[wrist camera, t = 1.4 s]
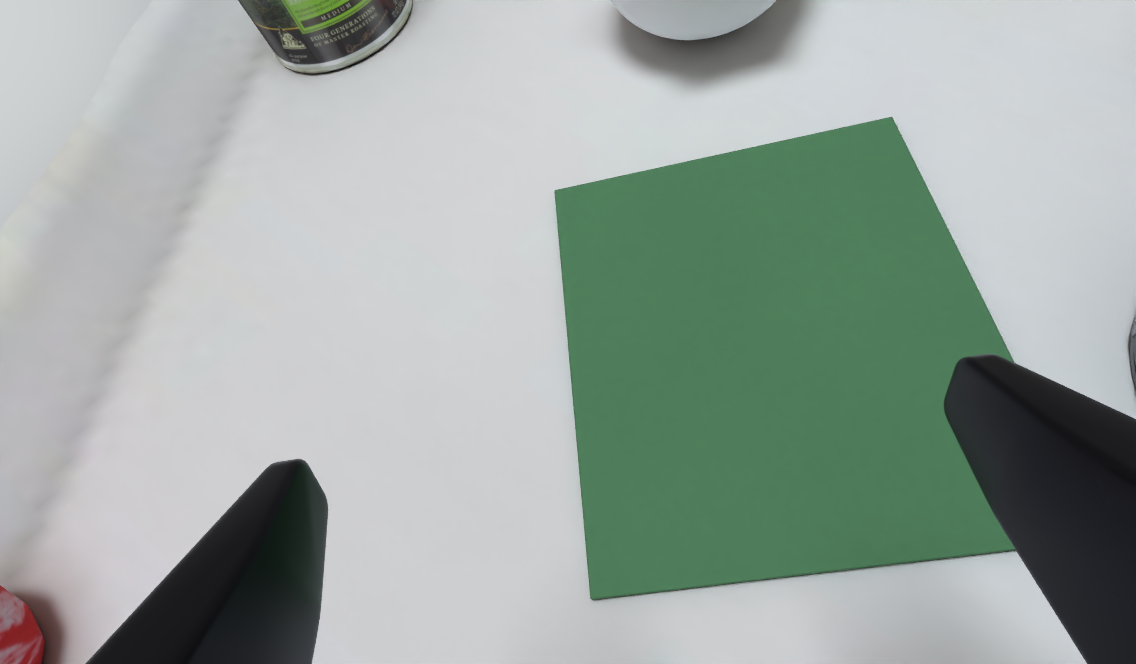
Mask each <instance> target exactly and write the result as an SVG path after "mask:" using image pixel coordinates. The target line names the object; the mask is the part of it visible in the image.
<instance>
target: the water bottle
mask: <svg viewBox="0 0 1136 664" xmlns="http://www.w3.org/2000/svg"><path fill="white" fill-rule="evenodd" d="M44 644H45V640H44V638H43V635H42V633H41V631H40V629H39V626H38V624H37V622H36V620H35V617H34V615H33V613H32V611H31V610H30V608H29V606H28V604H26V603H25V602H23V601H22V600H20V599H19V598H17V597H16V596H14V595H13V594H12V593H10V592H9V591H7V590H6V589H4V588H3V587H1V586H0V664H42V658H43V651H44Z"/></svg>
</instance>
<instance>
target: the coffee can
mask: <svg viewBox="0 0 1136 664" xmlns="http://www.w3.org/2000/svg"><path fill="white" fill-rule="evenodd" d="M238 1H239V2H240V4H241V5H242V7H243V8H244V9H245V11H246V12H247V14H248V15H249V16H250V18H251V19H252V21H253V22H254V24H255V25H256V27H257V28H258V30H259V31H260V32H261V34H262V35H263V37H264V38H265V39H266V41H267V42H268V44H269V45H270V47H271V48H272V49H273V51H274V52H275V55H276V57H277V59H278V60H279V61H280V62H281V63H282V64H283V65H284V66H285V67H287V68H288V69H291V70H293V71H297V72H302V73H322V72H329V71H333V70H337V69H341V68H344V67H347V66H349V65H352V64H354V63H357V62H359V61H361V60H363V59H365V58H366V57H368V56H370V55H371V54H373V53H374V52H376V51H378V50H379V49H380V48H382V47H383V46H384V45H386V44H387V43H388V42H389V41H390V40H391V39H392V38H393V37H394V36H395V35H396V34H397V33H398V32H399V31H400V30H401V28H402V27H403V25H404V24H405V23H406V21H407V19H408V17H409V14H410V11H411V7H412V0H238Z"/></svg>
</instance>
